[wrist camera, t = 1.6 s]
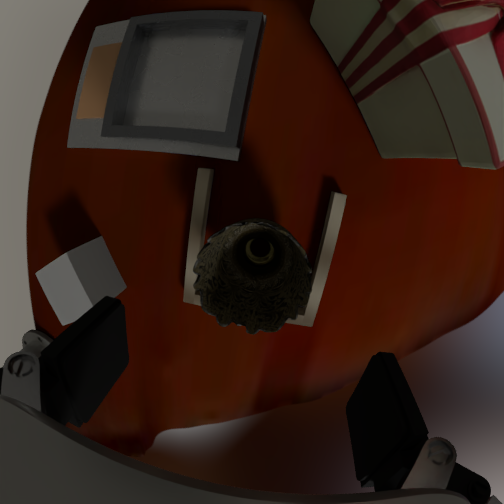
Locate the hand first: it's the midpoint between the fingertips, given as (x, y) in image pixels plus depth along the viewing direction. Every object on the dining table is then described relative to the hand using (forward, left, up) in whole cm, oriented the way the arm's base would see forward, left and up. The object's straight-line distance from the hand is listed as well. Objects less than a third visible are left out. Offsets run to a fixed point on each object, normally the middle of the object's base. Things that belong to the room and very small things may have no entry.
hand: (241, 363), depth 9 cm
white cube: (-6, +17, -16) cm, 24 cm away
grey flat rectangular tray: (+14, +12, -16) cm, 24 cm away
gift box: (+19, -12, -16) cm, 27 cm away
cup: (0, 0, -16) cm, 16 cm away
